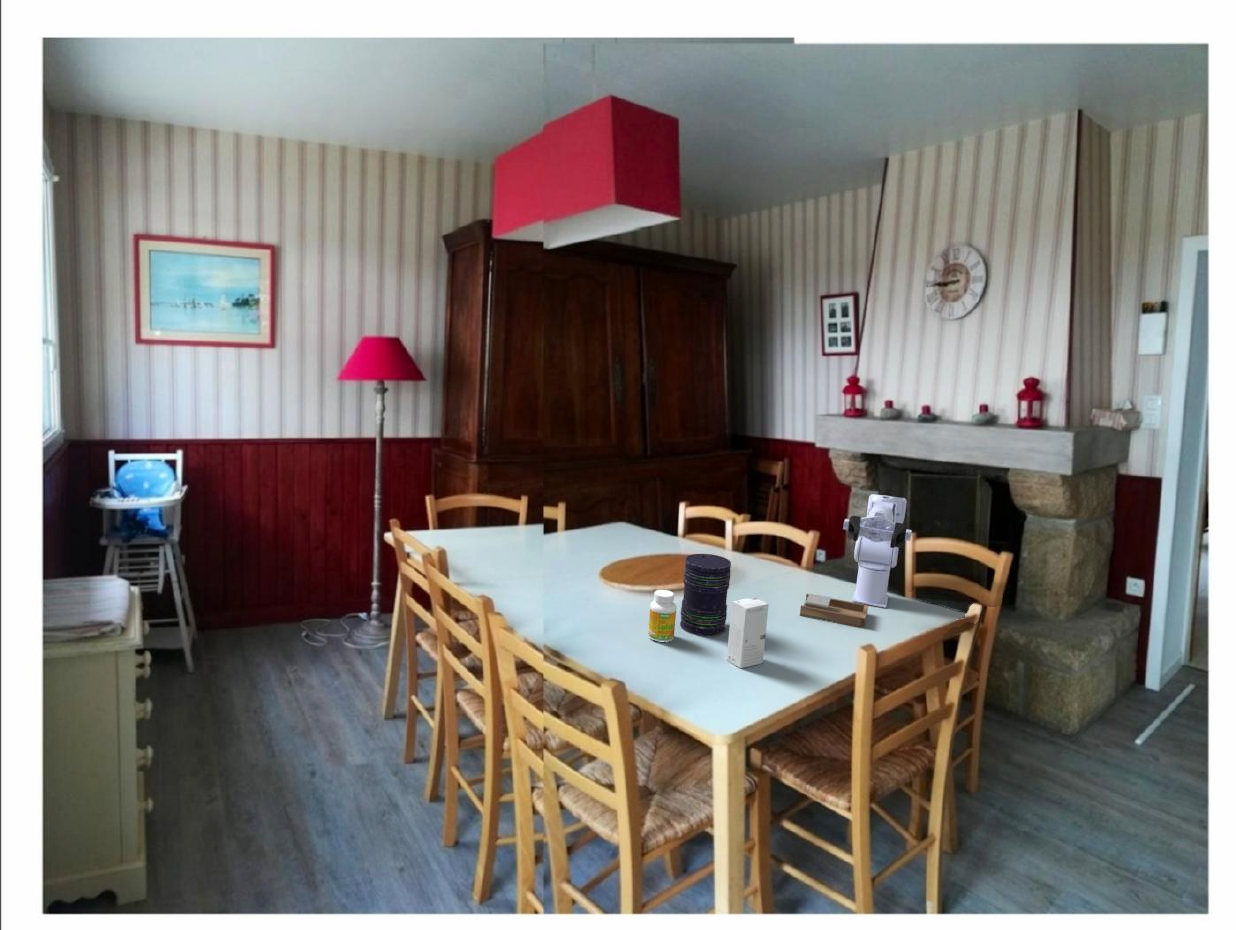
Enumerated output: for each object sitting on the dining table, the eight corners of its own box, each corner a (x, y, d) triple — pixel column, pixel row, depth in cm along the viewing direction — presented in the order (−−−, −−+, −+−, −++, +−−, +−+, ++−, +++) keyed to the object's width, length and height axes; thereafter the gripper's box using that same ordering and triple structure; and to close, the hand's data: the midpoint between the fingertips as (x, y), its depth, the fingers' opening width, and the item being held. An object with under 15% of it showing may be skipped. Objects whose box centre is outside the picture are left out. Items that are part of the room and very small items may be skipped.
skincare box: (740, 669, 137) (746, 609, 134) (725, 660, 140) (730, 601, 138) (764, 663, 140) (770, 604, 138) (748, 653, 144) (754, 596, 142)
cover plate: (808, 603, 172) (809, 593, 172) (829, 607, 170) (831, 597, 170) (804, 611, 167) (805, 601, 166) (826, 616, 165) (828, 605, 164)
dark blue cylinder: (732, 635, 152) (738, 568, 149) (688, 637, 150) (693, 568, 147) (715, 617, 161) (721, 553, 159) (673, 618, 159) (678, 553, 156)
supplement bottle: (656, 645, 145) (659, 599, 143) (643, 634, 150) (646, 590, 148) (678, 641, 148) (682, 596, 146) (665, 631, 152) (668, 587, 151)
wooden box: (805, 602, 174) (806, 593, 174) (867, 614, 169) (868, 605, 169) (799, 615, 166) (800, 606, 165) (863, 628, 160) (865, 619, 160)
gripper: (849, 501, 171) (841, 516, 159) (914, 512, 165) (912, 528, 153) (845, 530, 173) (837, 546, 160) (909, 541, 167) (907, 559, 155)
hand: (873, 540), depth 157 cm, fingers open, 7 cm apart
